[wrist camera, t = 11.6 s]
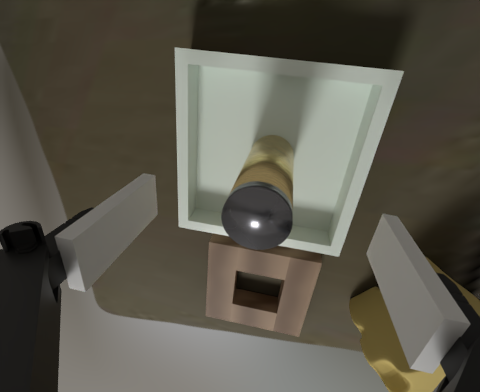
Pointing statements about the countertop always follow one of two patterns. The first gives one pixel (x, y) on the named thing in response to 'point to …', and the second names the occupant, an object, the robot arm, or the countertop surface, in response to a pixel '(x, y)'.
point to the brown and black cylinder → (262, 196)
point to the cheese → (393, 341)
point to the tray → (281, 124)
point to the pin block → (255, 304)
